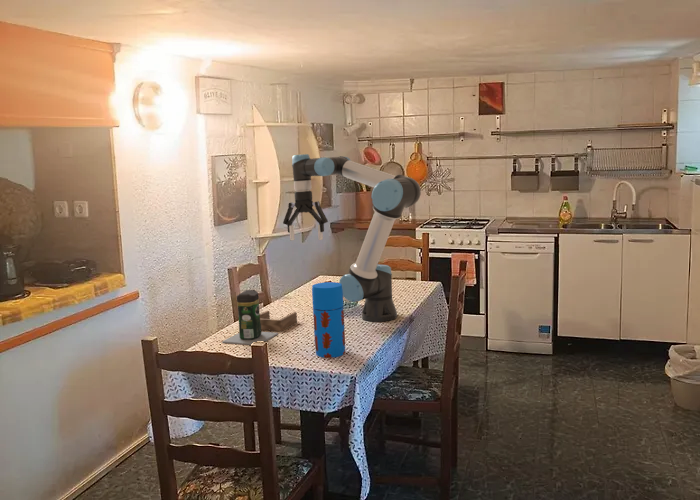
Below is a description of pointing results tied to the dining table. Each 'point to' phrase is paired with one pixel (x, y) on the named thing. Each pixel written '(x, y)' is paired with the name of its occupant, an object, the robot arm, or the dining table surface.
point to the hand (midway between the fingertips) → (306, 240)
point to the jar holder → (277, 322)
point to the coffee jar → (249, 315)
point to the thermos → (328, 319)
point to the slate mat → (238, 340)
